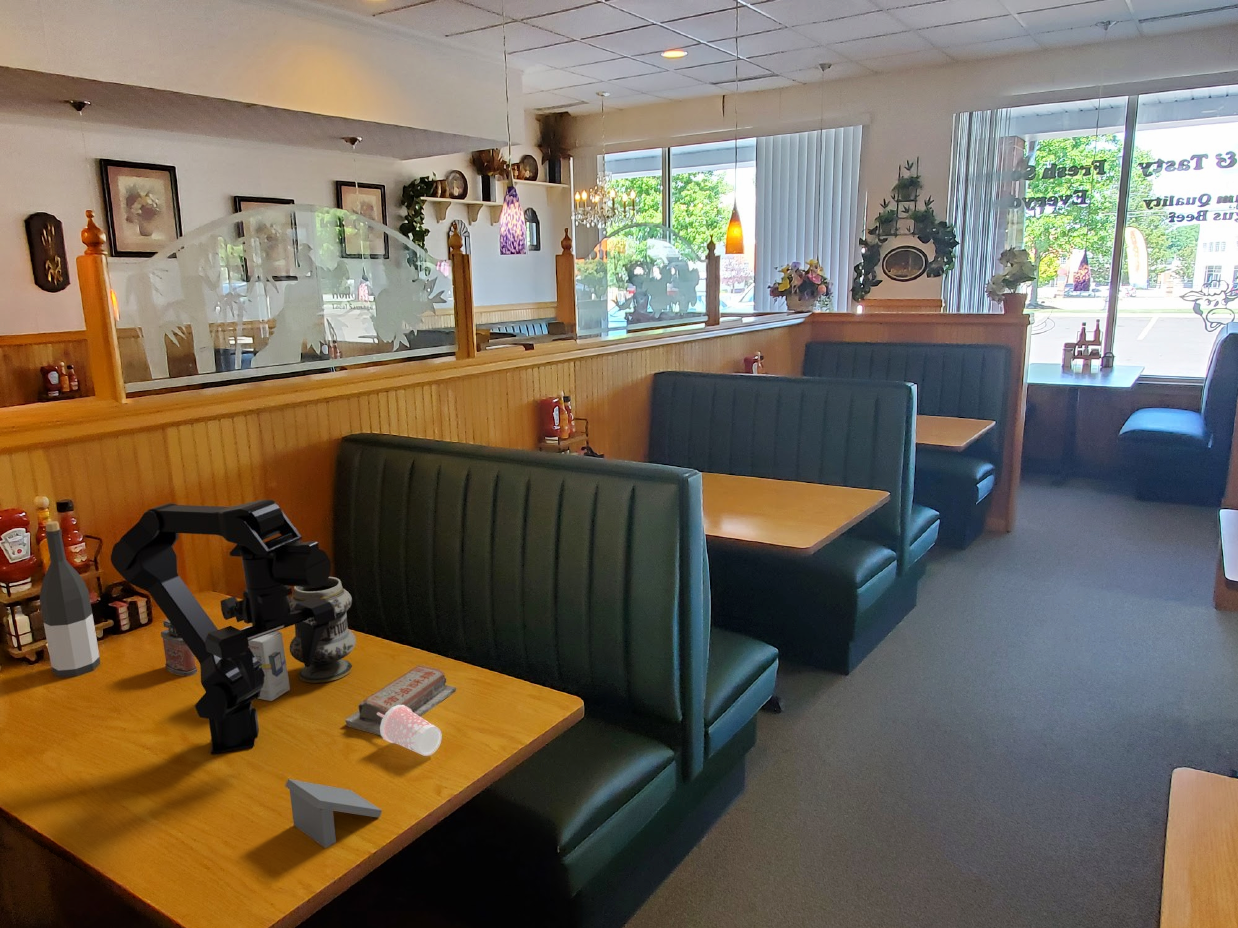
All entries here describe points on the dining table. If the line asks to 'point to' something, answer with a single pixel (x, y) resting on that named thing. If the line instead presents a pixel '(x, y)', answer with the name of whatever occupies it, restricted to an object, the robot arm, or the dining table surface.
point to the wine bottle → (67, 613)
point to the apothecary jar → (326, 634)
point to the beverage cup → (409, 730)
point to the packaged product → (402, 697)
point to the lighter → (177, 652)
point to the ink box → (271, 664)
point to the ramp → (324, 808)
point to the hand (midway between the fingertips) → (280, 677)
